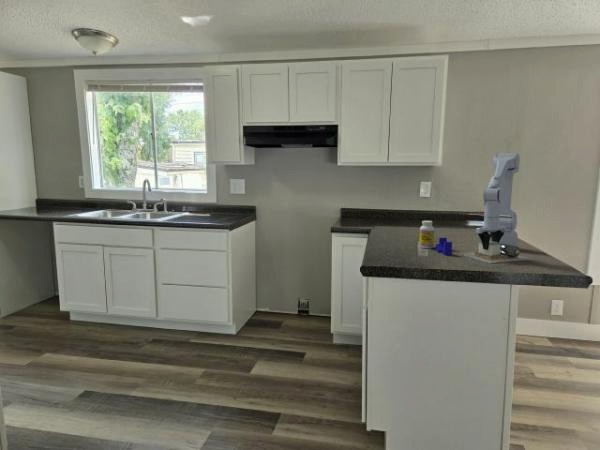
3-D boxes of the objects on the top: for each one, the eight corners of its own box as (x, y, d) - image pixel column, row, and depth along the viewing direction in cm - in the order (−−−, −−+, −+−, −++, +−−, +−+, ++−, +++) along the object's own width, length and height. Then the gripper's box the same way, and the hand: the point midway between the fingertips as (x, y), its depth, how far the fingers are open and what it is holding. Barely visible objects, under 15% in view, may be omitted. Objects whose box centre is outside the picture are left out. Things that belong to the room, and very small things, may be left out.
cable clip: (435, 250, 187) (436, 237, 186) (445, 250, 187) (446, 237, 186) (441, 255, 175) (441, 242, 175) (451, 255, 175) (452, 242, 174)
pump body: (486, 251, 173) (486, 240, 172) (499, 254, 166) (500, 242, 166) (478, 252, 171) (478, 241, 170) (491, 255, 165) (492, 243, 164)
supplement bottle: (418, 248, 191) (419, 221, 189) (419, 245, 197) (420, 220, 196) (433, 249, 189) (434, 222, 187) (434, 246, 195) (434, 220, 193)
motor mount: (498, 252, 179) (498, 240, 178) (527, 259, 164) (527, 247, 163) (464, 255, 174) (464, 243, 174) (490, 263, 159) (491, 250, 158)
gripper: (497, 215, 172) (495, 245, 174) (470, 216, 167) (469, 248, 169) (510, 216, 166) (509, 248, 168) (484, 218, 161) (482, 251, 162)
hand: (490, 248), depth 168 cm, fingers closed on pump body, 4 cm apart
